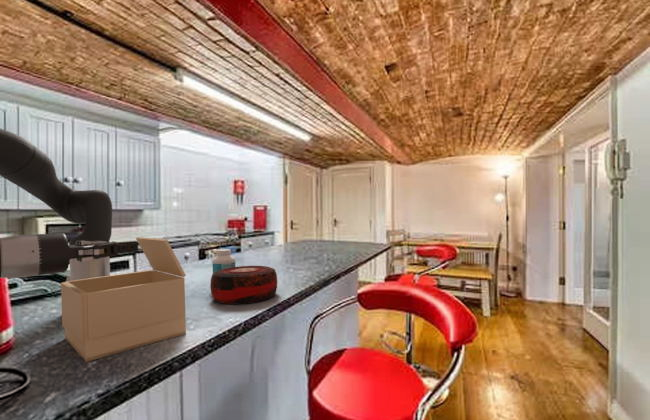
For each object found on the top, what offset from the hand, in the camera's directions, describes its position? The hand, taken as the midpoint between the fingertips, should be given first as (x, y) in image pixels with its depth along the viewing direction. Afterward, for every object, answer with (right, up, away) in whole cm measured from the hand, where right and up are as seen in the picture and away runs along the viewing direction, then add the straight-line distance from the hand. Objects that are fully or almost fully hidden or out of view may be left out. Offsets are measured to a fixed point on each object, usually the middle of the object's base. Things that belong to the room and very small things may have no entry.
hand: (136, 246), depth 76 cm
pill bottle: (+8, -19, +41) cm, 45 cm away
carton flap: (+3, -3, +3) cm, 5 cm away
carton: (-1, -19, -2) cm, 19 cm away
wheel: (+17, -19, +30) cm, 39 cm away
